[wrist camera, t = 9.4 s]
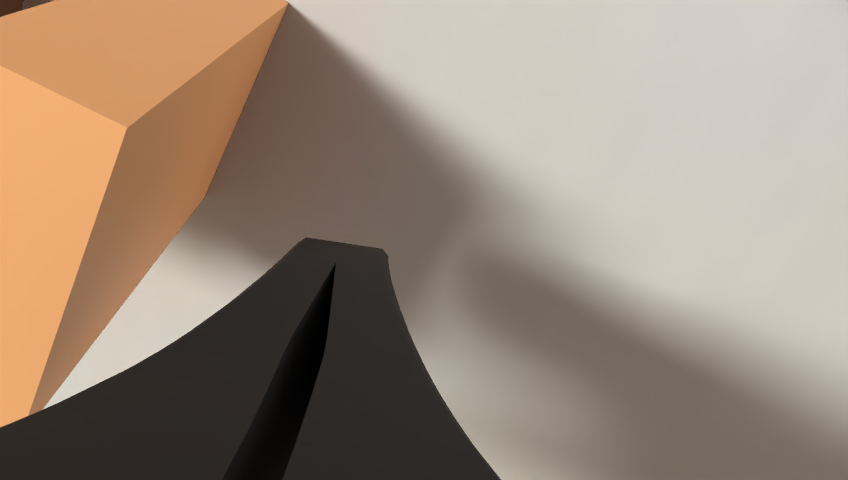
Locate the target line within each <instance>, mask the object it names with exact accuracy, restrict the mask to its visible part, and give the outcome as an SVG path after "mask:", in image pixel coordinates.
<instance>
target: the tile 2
mask: <svg viewBox="0 0 848 480" xmlns="http://www.w3.org/2000/svg"><path fill="white" fill-rule="evenodd" d="M22 3H23V0H0V17H2V16H5V15H8V14H12V13H15V12H18V11H21V8H22Z"/></svg>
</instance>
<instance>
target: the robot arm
mask: <svg viewBox="0 0 848 480" xmlns="http://www.w3.org/2000/svg"><path fill="white" fill-rule="evenodd" d="M0 480H501V479H500V478H499V477H498V476H497V474H496V473H495V472H494V470H493V469H492V468H491V467H490V465H489V464H488V463H487V462H486V460H485V459H484V458H483V457H482V455H481V454H480V453H479V452H478V450H477V449H476V448H475V447H474V445H473V444H472V442H471V441H470V440H469V438H468V437H467V435H466V434H465V432H464V431H463V429H462V428H461V426H460V425H459V423H458V422H457V420H456V419H455V417H454V416H453V414H452V413H451V411H450V410H449V408H448V406H447V405H446V403H445V401H444V400H443V398H442V397H441V395H440V393H439V392H438V390H437V388H436V386H435V385H434V383H433V381H432V379H431V377H430V375H429V373H428V372H427V370H426V368H425V366H424V364H423V362H422V360H421V357H420V355H419V353H418V351H417V349H416V347H415V345H414V343H413V340H412V338H411V336H410V334H409V331H408V328H407V326H406V323H405V321H404V318H403V315H402V313H401V310H400V308H399V305H398V302H397V299H396V296H395V292H394V288H393V285H392V281H391V277H390V272H389V265H388V255H387V254H386V253H385V252H384V250H383V249H379V248H372V247H366V246H359V245H352V244H346V243H339V242H332V241H326V240H319V239H312V238H305V239H303V240H302V241H300V242H299V243H298V244H297V245H296V246H294V247H293V248H292V249H291V250H290V251H289V252H288V253H287V254H286V255H285V256H284V257H283V258H282V259H281V260H280V261H278V262H277V263H276V264H275V265H274V266H273V267H272V268H271V269H270V270H268V271H267V272H266V273H265V274H264V275H263V276H262V277H260V278H259V279H258V280H257V281H256V282H254V283H253V284H252V285H251V286H249V287H248V288H247V289H246V290H245V291H243V292H242V293H241V294H240V295H239V296H237V297H236V298H235V299H234V300H232V301H231V302H230V303H228V304H227V305H226V306H224V307H223V308H222V309H220V310H219V311H218V312H216V313H215V314H213V315H212V316H211V317H209V318H208V319H206V320H205V321H204V322H202V323H201V324H200V325H198V326H197V327H195V328H194V329H193V330H191V331H190V332H188V333H187V334H185V335H184V336H182V337H181V338H179V339H178V340H176V341H175V342H173V343H171V344H170V345H168V346H167V347H165V348H163V349H162V350H160V351H159V352H157V353H155V354H153V355H152V356H150V357H148V358H146V359H145V360H143V361H141V362H140V363H138V364H136V365H134V366H132V367H130V368H129V369H127V370H125V371H123V372H121V373H119V374H117V375H115V376H113V377H111V378H109V379H107V380H104V381H102V382H100V383H98V384H96V385H94V386H92V387H90V388H88V389H86V390H84V391H82V392H80V393H78V394H76V395H74V396H72V397H70V398H67V399H65V400H63V401H61V402H59V403H57V404H55V405H53V406H50V407H48V408H46V409H43V410H41V411H39V412H36V413H34V414H31V415H29V416H27V417H24V418H22V419H19V420H17V421H15V422H12V423H10V424H7V425H5V426H2V427H0Z"/></svg>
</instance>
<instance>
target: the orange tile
mask: <svg viewBox="0 0 848 480" xmlns="http://www.w3.org/2000/svg"><path fill="white" fill-rule="evenodd" d="M287 6H288V2H287V1H285V0H54V1H51V2H48V3H45V4H41V5H38V6H35V7H31V8H28V9H25V10H22V11H18V12H15V13H12V14H8V15H5V16H2V17H0V427H2V426H5V425H7V424H10V423H12V422H15V421H17V420H19V419H22V418H24V417H27V416H29V415H31V414H34V413H36V412H39V411H41V410H42V409H43V408H44V407H45V405H46V404H47V403H48V401H49V400H50V399H51V398H52V396H53V395H54V394H55V392H56V391H57V390H58V388H59V387H60V386H61V384H62V383H63V382H64V380H65V379H66V378H67V377H68V375H69V374H70V373H71V371H72V370H73V369H74V367H75V366H76V365H77V363H78V362H79V361H80V360H81V358H82V357H83V356H84V354H85V353H86V352H87V350H88V349H89V348H90V346H91V345H92V344H93V343H94V341H95V340H96V339H97V337H98V336H99V335H100V333H101V332H102V331H103V329H104V328H105V327H106V326H107V324H108V323H109V322H110V320H111V319H112V318H113V316H114V315H115V314H116V312H117V311H118V310H119V309H120V307H121V306H122V305H123V303H124V302H125V301H126V299H127V298H128V297H129V295H130V294H131V293H132V292H133V290H134V289H135V288H136V286H137V285H138V284H139V282H140V281H141V280H142V278H143V277H144V276H145V274H146V273H147V272H148V271H149V269H150V268H151V267H152V265H153V264H154V263H155V261H156V260H157V259H158V257H159V256H160V255H161V254H162V252H163V251H164V250H165V248H166V247H167V246H168V244H169V243H170V242H171V240H172V239H173V238H174V237H175V235H176V234H177V233H178V231H179V230H180V229H181V227H182V226H183V225H184V223H185V222H186V221H187V220H188V218H189V217H190V216H191V214H192V213H193V212H194V210H195V209H196V208H197V206H198V205H199V204H200V203H201V201H202V200H203V199H204V197H205V195H206V193H207V191H208V188H209V186H210V184H211V181H212V179H213V177H214V174H215V172H216V170H217V167H218V165H219V163H220V161H221V158H222V156H223V154H224V151H225V149H226V147H227V144H228V142H229V140H230V137H231V135H232V133H233V131H234V128H235V126H236V124H237V121H238V119H239V117H240V114H241V112H242V110H243V107H244V105H245V103H246V100H247V98H248V96H249V94H250V91H251V89H252V87H253V84H254V82H255V80H256V77H257V75H258V73H259V70H260V68H261V66H262V64H263V61H264V59H265V57H266V54H267V52H268V50H269V47H270V45H271V43H272V40H273V38H274V36H275V33H276V31H277V29H278V27H279V24H280V22H281V20H282V17H283V15H284V13H285V10H286V8H287Z"/></svg>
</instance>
